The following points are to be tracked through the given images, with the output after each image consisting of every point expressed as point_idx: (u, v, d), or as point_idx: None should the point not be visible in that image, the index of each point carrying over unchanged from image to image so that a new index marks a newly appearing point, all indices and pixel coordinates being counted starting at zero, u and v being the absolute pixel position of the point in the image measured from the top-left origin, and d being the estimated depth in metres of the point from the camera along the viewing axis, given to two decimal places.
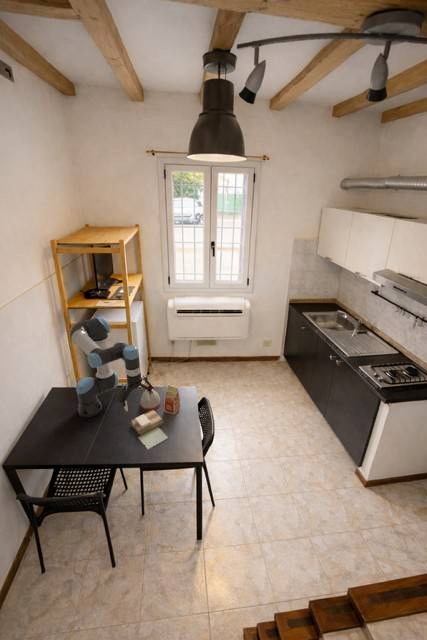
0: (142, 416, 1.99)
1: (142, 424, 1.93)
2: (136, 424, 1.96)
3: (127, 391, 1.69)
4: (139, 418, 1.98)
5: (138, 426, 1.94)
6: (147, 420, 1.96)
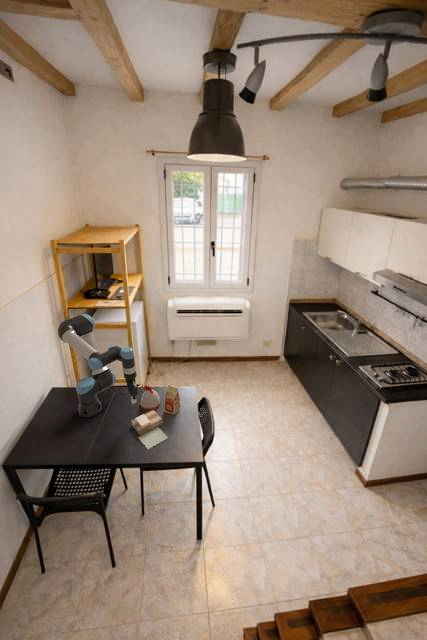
0: (142, 416, 1.99)
1: (142, 424, 1.93)
2: (136, 424, 1.96)
3: None
4: (139, 418, 1.98)
5: (138, 426, 1.94)
6: (147, 420, 1.96)
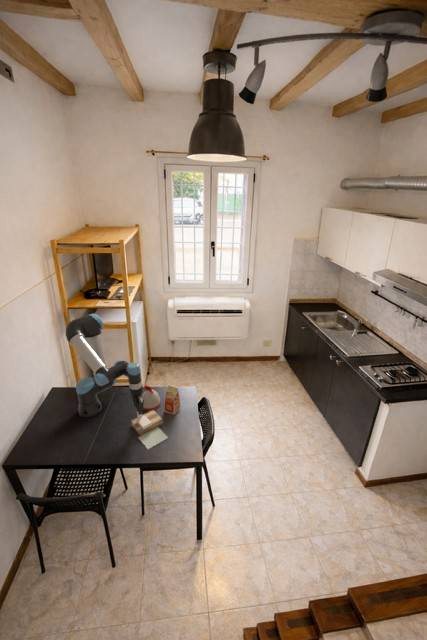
0: (143, 417, 1.98)
1: (143, 425, 1.92)
2: (136, 424, 1.96)
3: None
4: (140, 419, 1.97)
5: (138, 426, 1.94)
6: (148, 421, 1.95)
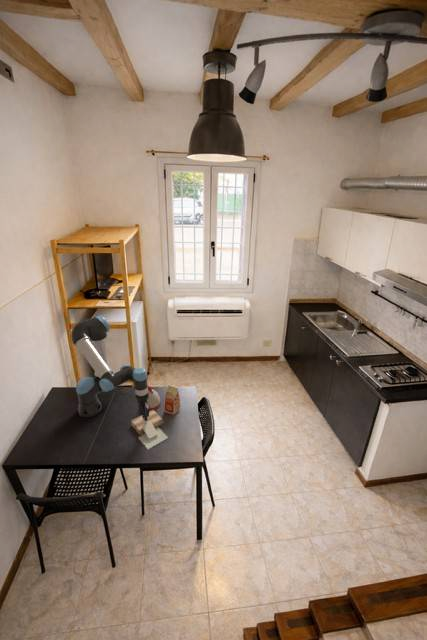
0: (149, 425, 1.93)
1: (149, 436, 1.88)
2: (136, 424, 1.96)
3: None
4: (146, 426, 1.92)
5: (138, 426, 1.94)
6: (154, 431, 1.91)
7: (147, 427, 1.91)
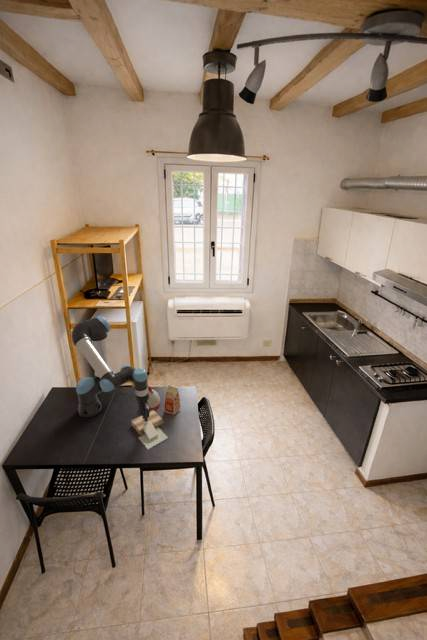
0: (150, 425, 1.93)
1: (150, 436, 1.88)
2: (136, 424, 1.96)
3: None
4: (146, 426, 1.91)
5: (138, 426, 1.94)
6: (155, 432, 1.91)
7: (147, 428, 1.91)
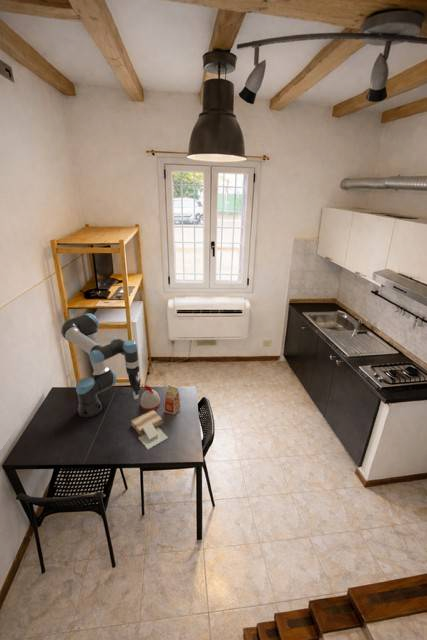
0: (150, 425, 1.93)
1: (150, 436, 1.88)
2: (136, 424, 1.96)
3: None
4: (146, 426, 1.91)
5: (138, 426, 1.94)
6: (155, 432, 1.91)
7: (147, 428, 1.91)
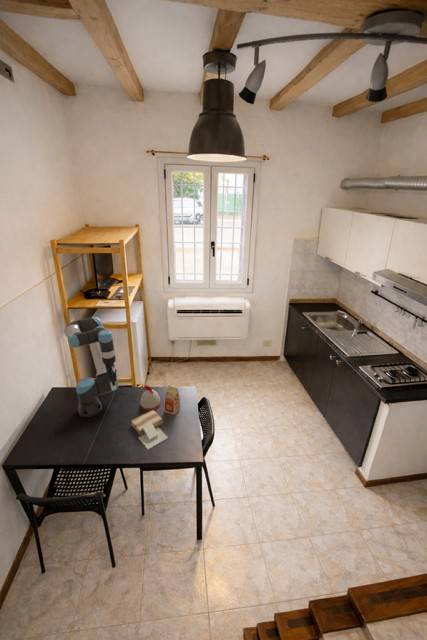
0: (150, 425, 1.93)
1: (150, 436, 1.88)
2: (136, 424, 1.96)
3: None
4: (146, 426, 1.91)
5: (138, 426, 1.94)
6: (155, 432, 1.91)
7: (147, 428, 1.91)
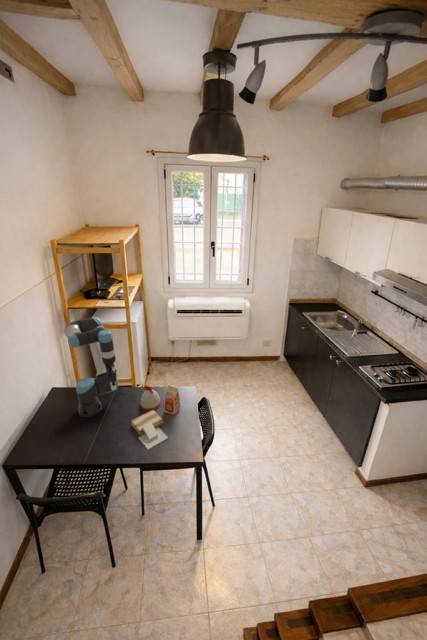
0: (150, 425, 1.93)
1: (150, 436, 1.88)
2: (136, 424, 1.96)
3: None
4: (146, 426, 1.91)
5: (138, 426, 1.94)
6: (155, 432, 1.91)
7: (147, 428, 1.91)
